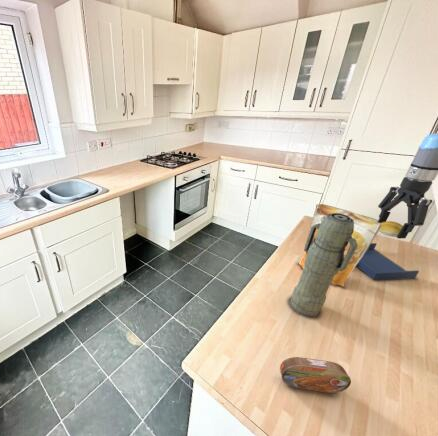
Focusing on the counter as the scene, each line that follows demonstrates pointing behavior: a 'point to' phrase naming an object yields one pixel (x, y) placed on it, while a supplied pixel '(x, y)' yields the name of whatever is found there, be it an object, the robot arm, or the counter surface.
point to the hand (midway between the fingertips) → (389, 231)
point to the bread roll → (390, 228)
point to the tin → (314, 375)
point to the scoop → (382, 266)
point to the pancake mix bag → (362, 234)
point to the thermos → (323, 262)
